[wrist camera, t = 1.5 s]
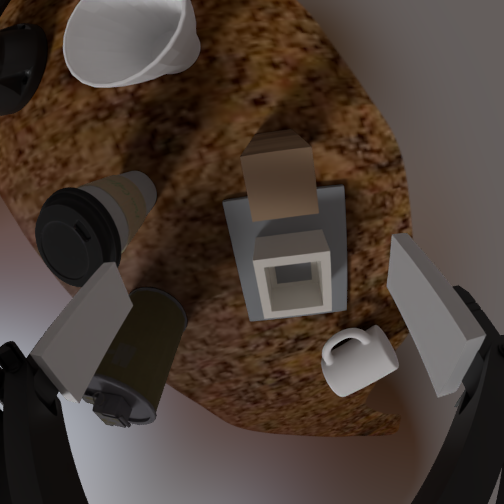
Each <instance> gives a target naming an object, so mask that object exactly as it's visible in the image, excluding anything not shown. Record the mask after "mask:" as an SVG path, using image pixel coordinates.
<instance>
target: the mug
mask: <svg viewBox="0 0 504 504" xmlns="http://www.w3.org/2000/svg"><path fill="white" fill-rule="evenodd" d="M346 338H353V339H351V340H349V341H348V342H346V343H344V344H343V345H341V346H339V347H338V348H336V349H334V350H332V351H331V349H332V347H333V346H334V345H336V344H337V343H338V342H340V341H342V340H343V339H346ZM321 364H322V370H323V373H324V376H325V378H326V381H327V383H328V384H329V386H330V387H331V389H332V390H333V391H334V392H335V393H336V394H337V395H339V396H341V397H345V396H347V395H349V394H351V393H353V392H355V391H357V390H359V389H361V388H363V387H365V386H367V385H369V384H371V383H373V382H375V381H377V380H378V379H380V378H382V377H384V376H386V375H387V374H389V373H391V372H393V371H394V370H396V369H398V367H399V364H398V360H397V356H396V354H395V352H394V349H393V347H392V345H391V343H390V342H389V340H388V338H387V337H386V335H385V333H384V332H383V331H382V329H381V328H380V327H379V326H377V325H374V326H372V327H371V328H369V329H367V330H366V331H364V330H362V329H358V328H348V329H345V330H342V331H340V332H338V333H336V334H335V335H334V336H332V337H331V338H330V339H329V340H328V341H327V342H326V344H325V345H324V347H323V350H322V361H321Z"/></svg>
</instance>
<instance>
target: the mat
mask: <svg viewBox="0 0 504 504" xmlns="http://www.w3.org/2000/svg"><path fill="white" fill-rule="evenodd" d="M316 188H317V198H318V208H319V213H318V214H310V215H302V216H294V217H286V218H279V219H271V220H264V221H256V222H252V216H251V211H250V206H249V200H248V196H246V197H240V198H233V199H227V200H223V207H224V211H225V216H226V220H227V225H228V229H229V234H230V238H231V242H232V247H233V251H234V255H235V260H236V264H237V268H238V273H239V277H240V281H241V285H242V290H243V294H244V298H245V302H246V306H247V310H248V315H249V319H250V321H259V320H270V319H280V318H289V317H298V316H306V315H314V314H322V313H330V312H337V311H344V310H347V235H346V211H345V194H344V186H343V185H342V184H341V185H331V186H322V187H316ZM320 229H322V231H323V233H324V236H325V239H326V241H327V244H328V247H329V249H330V259H331V288H332V311H328V312H321V313H313V314H305V315H296V316H287V317H278V318H268V319H264V314H263V310H262V305H261V300H260V295H259V290H258V285H257V280H256V275H255V270H254V265H253V254H254V246H255V238H257V237H265V236H272V235H280V234H288V233H296V232H304V231H312V230H320Z"/></svg>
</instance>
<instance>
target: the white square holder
mask: <svg viewBox="0 0 504 504" xmlns="http://www.w3.org/2000/svg"><path fill="white" fill-rule="evenodd" d="M253 265H254V270H255V275H256V280H257V285H258V290H259V295H260V300H261V305H262V310H263V314H264V319H268V318H278V317H287V316H296V315H305V314H313V313H321V312H328V311H332V288H331V259H330V249H329V247H328V244H327V241H326V239H325V236H324V233H323V231H322V229H320V230H312V231H304V232H296V233H288V234H280V235H272V236H265V237H257V238H255V246H254V254H253Z"/></svg>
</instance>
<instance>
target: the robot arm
mask: <svg viewBox="0 0 504 504" xmlns="http://www.w3.org/2000/svg"><path fill="white" fill-rule="evenodd" d="M10 1H11V0H0V17H1V15H2V13H3V12H4V10H5V8H6V7H7V5H8V4H9V2H10ZM46 57H47V40H46V36H45V33H44V31H43V30H42V28H41V27H39V26H38V25H34V24H27V23H22V24H17V25H14V26H10V27H7V28H4V29H1V30H0V116H3V115H8V114H13V113H16V112H18V111H19V110H21V109H22V108H23V107H24V106H25V105H26V104H27V103H28V102H29V100H30V99H31V98H32V96H33V94H34V93H35V91H36V89H37V87H38V85H39V83H40V80H41V77H42V74H43V71H44V68H45V63H46ZM387 288H388V290H389V291H390V293H391V295H392V297H393V299H394V301H395V303H396V305H397V307H398V309H399V311H400V313H401V315H402V317H403V319H404V321H405V323H406V325H407V327H408V329H409V331H410V333H411V336H412V338H413V340H414V342H415V344H416V346H417V348H418V351H419V353H420V355H421V358H422V360H423V362H424V365H425V367H426V369H427V372H428V374H429V377H430V379H431V382H432V384H433V387H434V389H435V392H436V394H437V397H441V396H444V395H447V394H450V393H453V392H456V390H457V389H458V387H459V385H460V384H461V382H463V384H464V386H465V391H464V392H463V394H462V395H461V397H460V398H459V400H458V401H457V403H456V405H455V407H457V406H458V405H459V406H458V409H457V411H456V414H455V417H454V419H453V422H452V425H451V427H450V430H449V432H448V434H447V436H446V439H445V441H444V444H443V446H442V448H441V450H440V452H439V454H438V456H437V458H436V460H435V463H434V464H433V466H432V468H431V470H430V472H429V474H428V476H427V478H426V479H425V481H424V483H423V485H422V486H421V488H420V490H419V492H418V493H417V495H416V496H415V498H414V500H413V501H412V503H411V504H488V502H489V499H490V497H491V495H492V492H493V489H494V487H495V485H496V482H497V479H498V477H499V474H500V471H501V468H502V472H501V479H500V485H499V490H498V495H497V500H496V504H504V335H499V333H498V331H497V330H496V329H495V327H494V326H493V324H492V323H491V321H490V320H489V319H488V317H487V316H486V314H485V313H484V312H483V310H481V308H480V306H479V305H478V304H477V303H476V302H475V300H474V298H473V297H472V296H471V295H470V293H469V292H467V291H466V290H465V289H463V288H462V287H460V286H453V287H452V286H451V285H450V283H449V282H448V281H447V280H446V278H445V277H444V276H443V275H442V273H441V272H440V271H439V270H438V269H437V267H436V266H435V265H434V264H433V263H432V261H431V260H430V259H429V258H428V256H427V255H426V254H425V253H424V252H423V251H422V249H421V248H420V247H419V246H418V245H417V244H416V243H415V242H414V240H413V239H412V238H411V237H410V236H409V235H408V234H407V233H402V234H392V240H391V252H390V262H389V271H388V280H387ZM132 307H133V304H132V302H131V300H130V298H129V295H128V293H127V291H126V288H125V286H124V283H123V281H122V278H121V276H120V273H119V271H118V268H117V266H116V263H115V262H109V263H103V264H102V265H101V266H100V267H99V269H98V270H97V271H96V272H95V273H94V274H93V275H92V276H91V278H90V279H89V280H88V281H87V282H86V283H85V284H84V286H83V287H82V288H81V289H80V290H79V291H78V293H77V294H76V295H75V296H74V297H73V299H72V300H71V301H70V302H69V304H68V305H67V306H66V307H65V308H64V310H63V311H62V312H61V313H60V315H59V316H58V317H57V318H56V320H55V321H54V322H53V323H52V324H51V326H50V327H49V328H48V329H47V331H46V332H45V333H44V335H43V337H41V339H40V340H39V341H38V343H37V344H36V345H35V347H34V348H33V350H32V351H31V353H30V354H29V355H28V357H27V358H25V356H24V355H23V353H22V352H21V350H20V349H19V348H18V346H17V345H16V343H15V342H13V341H9V342H6V343H5V344H3V345H2V346H1V347H0V366H1V367H2V368H3V369H1V367H0V403H1V404H2V405H3V411H2V410H1V409H0V504H88V501H87V498H86V496H85V493H84V490H83V488H82V485H81V482H80V479H79V476H78V473H77V470H76V466H75V463H74V459H73V456H72V452H71V449H70V445H69V440H68V436H67V432H66V428H65V423H64V418H63V413H62V407H61V402H60V400H59V399H58V397H57V394H58V392H60V393H61V394H62V395H63V396H64V397H65V398H66V400H69V401H72V402H76V403H80V401H81V399H82V397H83V395H84V393H85V391H86V389H87V387H88V385H89V383H90V381H91V379H92V377H93V376H94V374H95V372H96V370H97V368H98V366H99V364H100V362H101V361H102V359H103V357H104V355H105V353H106V352H107V350H108V348H109V346H110V344H111V343H112V341H113V339H114V337H115V336H116V334H117V332H118V330H119V329H120V327H121V325H122V324H123V322H124V320H125V318H126V317H127V315H128V313H129V312H130V310H131V308H132Z"/></svg>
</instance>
